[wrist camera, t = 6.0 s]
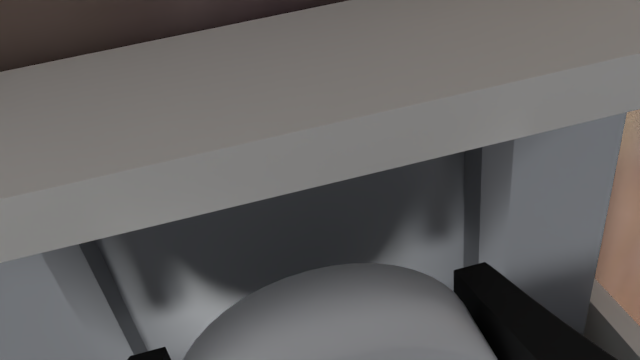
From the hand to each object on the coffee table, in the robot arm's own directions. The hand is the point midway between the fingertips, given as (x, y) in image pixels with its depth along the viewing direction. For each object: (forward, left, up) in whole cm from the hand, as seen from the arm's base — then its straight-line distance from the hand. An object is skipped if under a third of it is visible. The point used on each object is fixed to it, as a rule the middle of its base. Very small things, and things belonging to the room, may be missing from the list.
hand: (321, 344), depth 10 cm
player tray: (0, +1, -3) cm, 3 cm away
